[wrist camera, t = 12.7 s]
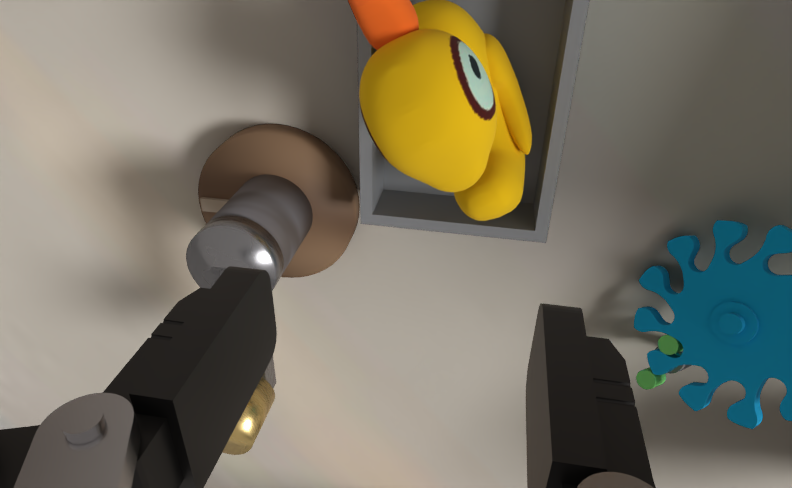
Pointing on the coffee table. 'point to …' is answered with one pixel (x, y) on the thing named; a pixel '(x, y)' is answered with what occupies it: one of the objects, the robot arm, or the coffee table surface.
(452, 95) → the duckling
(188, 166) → the coffee table surface
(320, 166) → the base
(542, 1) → the tray
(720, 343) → the gear
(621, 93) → the coffee table surface
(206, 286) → the crank
